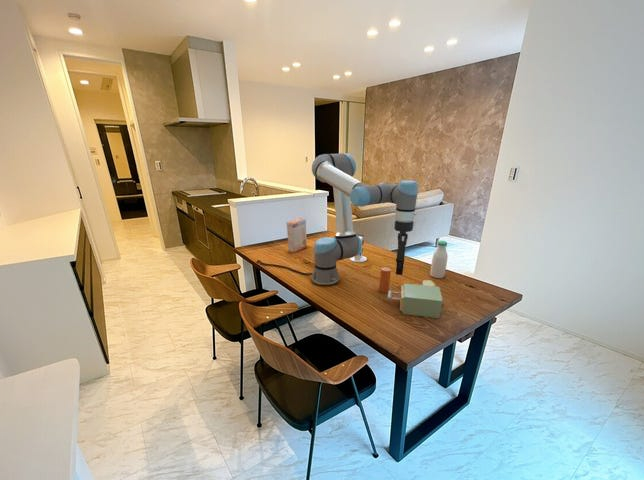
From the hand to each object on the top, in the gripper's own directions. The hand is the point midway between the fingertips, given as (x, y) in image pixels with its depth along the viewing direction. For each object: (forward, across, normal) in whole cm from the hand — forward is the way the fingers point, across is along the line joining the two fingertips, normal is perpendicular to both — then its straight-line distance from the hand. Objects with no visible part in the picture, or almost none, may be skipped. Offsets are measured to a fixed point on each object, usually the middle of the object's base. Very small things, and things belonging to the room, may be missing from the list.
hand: (399, 268), depth 130 cm
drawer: (+18, 0, -6) cm, 19 cm away
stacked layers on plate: (+19, +16, -15) cm, 29 cm away
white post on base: (+19, +55, +25) cm, 63 cm away
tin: (+19, +14, +6) cm, 24 cm away
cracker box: (+19, +64, +68) cm, 96 cm away
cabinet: (+19, 0, -11) cm, 22 cm away
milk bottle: (+19, +39, -22) cm, 48 cm away
